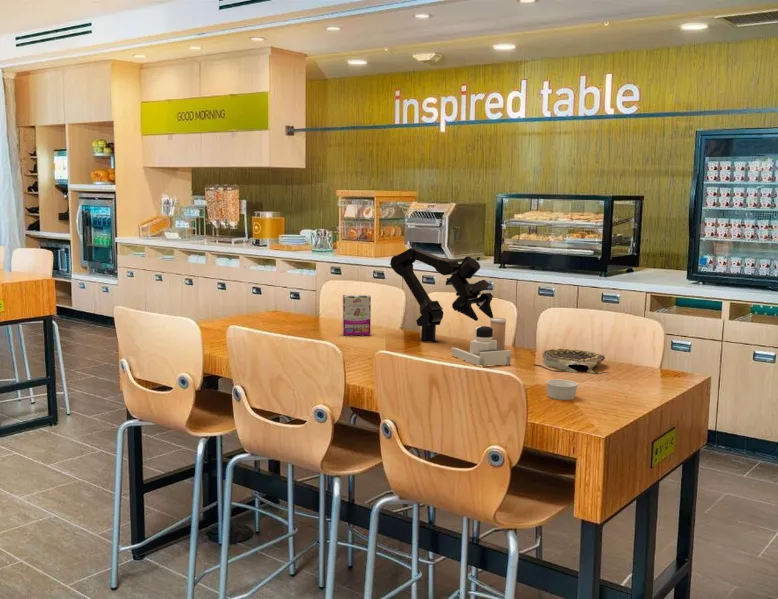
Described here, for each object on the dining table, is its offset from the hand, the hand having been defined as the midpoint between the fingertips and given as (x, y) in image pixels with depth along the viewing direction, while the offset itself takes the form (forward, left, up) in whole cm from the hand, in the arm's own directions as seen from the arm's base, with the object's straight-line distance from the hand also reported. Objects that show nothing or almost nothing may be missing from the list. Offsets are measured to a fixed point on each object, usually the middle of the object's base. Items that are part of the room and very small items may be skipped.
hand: (484, 319), depth 292 cm
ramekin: (+66, +9, -12) cm, 68 cm away
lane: (+16, -5, -12) cm, 21 cm away
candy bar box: (-33, -46, -12) cm, 58 cm away
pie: (+23, +27, -13) cm, 38 cm away
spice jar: (+4, +4, -12) cm, 14 cm away
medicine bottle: (+18, -4, -12) cm, 22 cm away
